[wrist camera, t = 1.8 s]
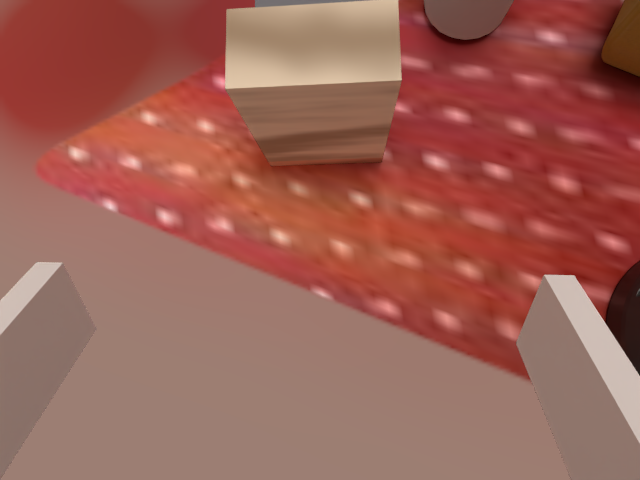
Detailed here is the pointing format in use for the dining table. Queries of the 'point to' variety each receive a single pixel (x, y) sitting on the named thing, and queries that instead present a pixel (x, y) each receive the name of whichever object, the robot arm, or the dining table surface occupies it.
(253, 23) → the birch block
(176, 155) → the dining table surface
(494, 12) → the can
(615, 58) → the flower pot
